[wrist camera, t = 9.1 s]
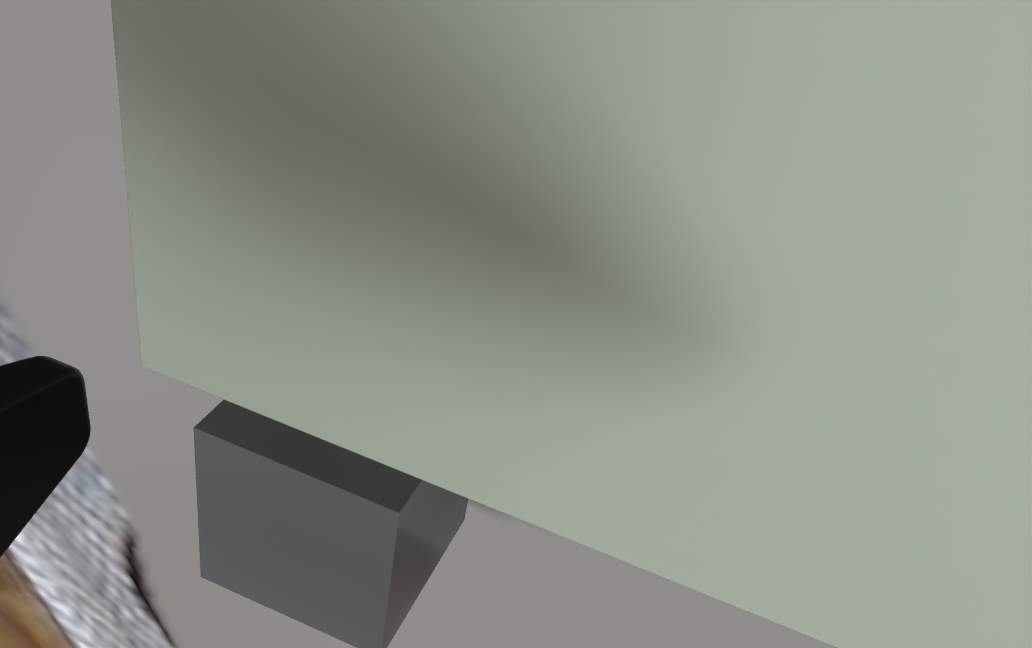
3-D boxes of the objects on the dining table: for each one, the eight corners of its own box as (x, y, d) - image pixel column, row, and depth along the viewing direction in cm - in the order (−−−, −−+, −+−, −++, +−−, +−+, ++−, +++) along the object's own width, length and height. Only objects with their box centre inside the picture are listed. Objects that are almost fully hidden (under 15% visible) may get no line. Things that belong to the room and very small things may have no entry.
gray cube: (464, 519, 26) (380, 658, 22) (307, 455, 27) (200, 576, 23) (490, 381, 23) (399, 513, 19) (314, 315, 24) (193, 427, 20)
